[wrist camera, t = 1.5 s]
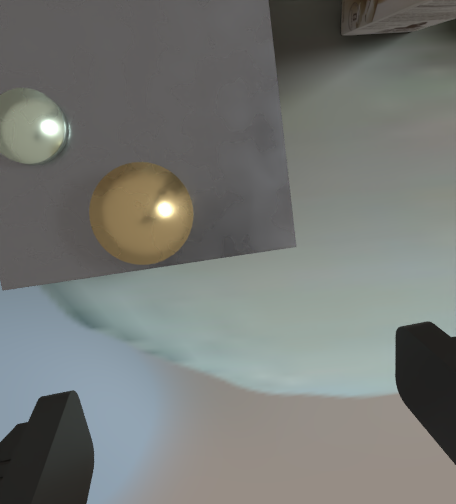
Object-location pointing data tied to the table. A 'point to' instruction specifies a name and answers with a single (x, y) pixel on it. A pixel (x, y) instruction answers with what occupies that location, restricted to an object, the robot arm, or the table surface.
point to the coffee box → (393, 15)
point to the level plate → (137, 137)
